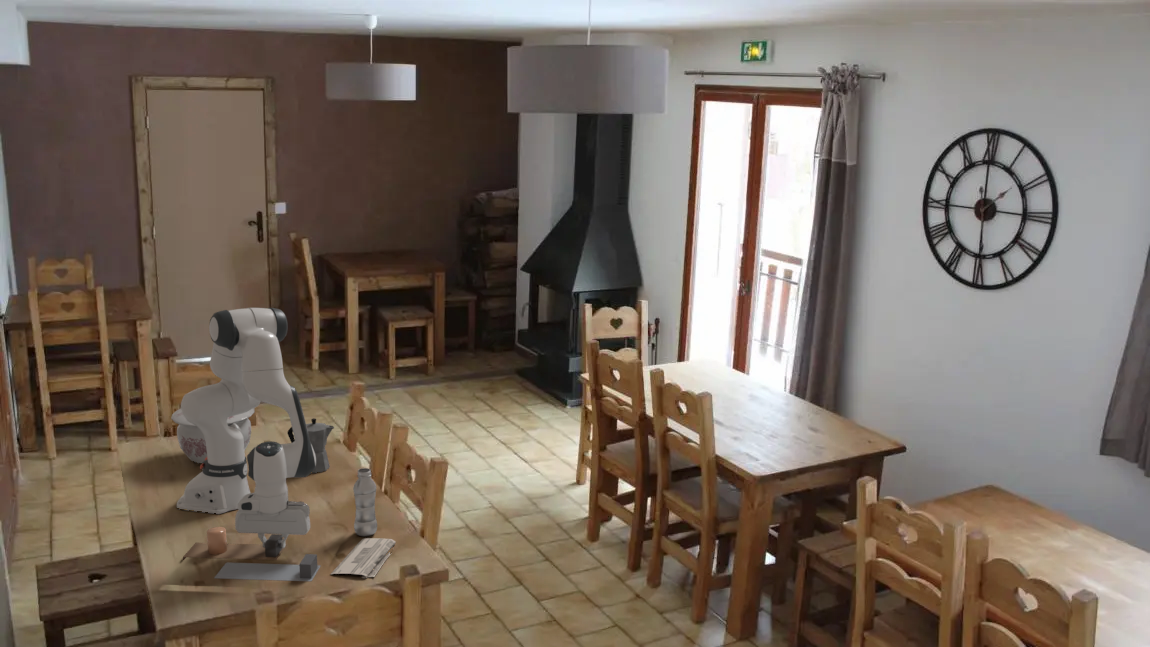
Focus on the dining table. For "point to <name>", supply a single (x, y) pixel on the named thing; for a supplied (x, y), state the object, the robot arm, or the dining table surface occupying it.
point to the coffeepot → (317, 443)
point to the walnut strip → (241, 550)
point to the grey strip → (272, 570)
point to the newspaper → (366, 557)
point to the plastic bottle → (365, 503)
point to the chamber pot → (194, 438)
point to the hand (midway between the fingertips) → (274, 547)
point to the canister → (217, 540)
